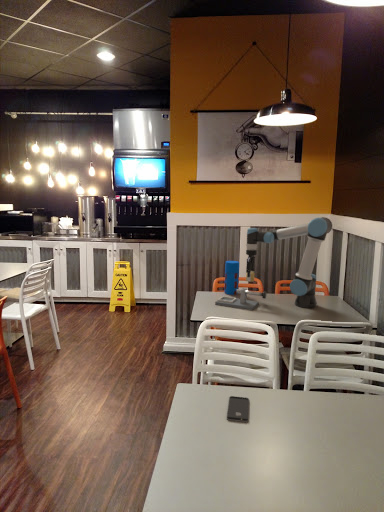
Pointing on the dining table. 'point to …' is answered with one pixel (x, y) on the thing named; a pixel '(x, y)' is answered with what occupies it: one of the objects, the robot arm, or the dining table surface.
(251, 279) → the spacer collar
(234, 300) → the keeper base
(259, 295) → the retaining shaft
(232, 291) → the thermos
